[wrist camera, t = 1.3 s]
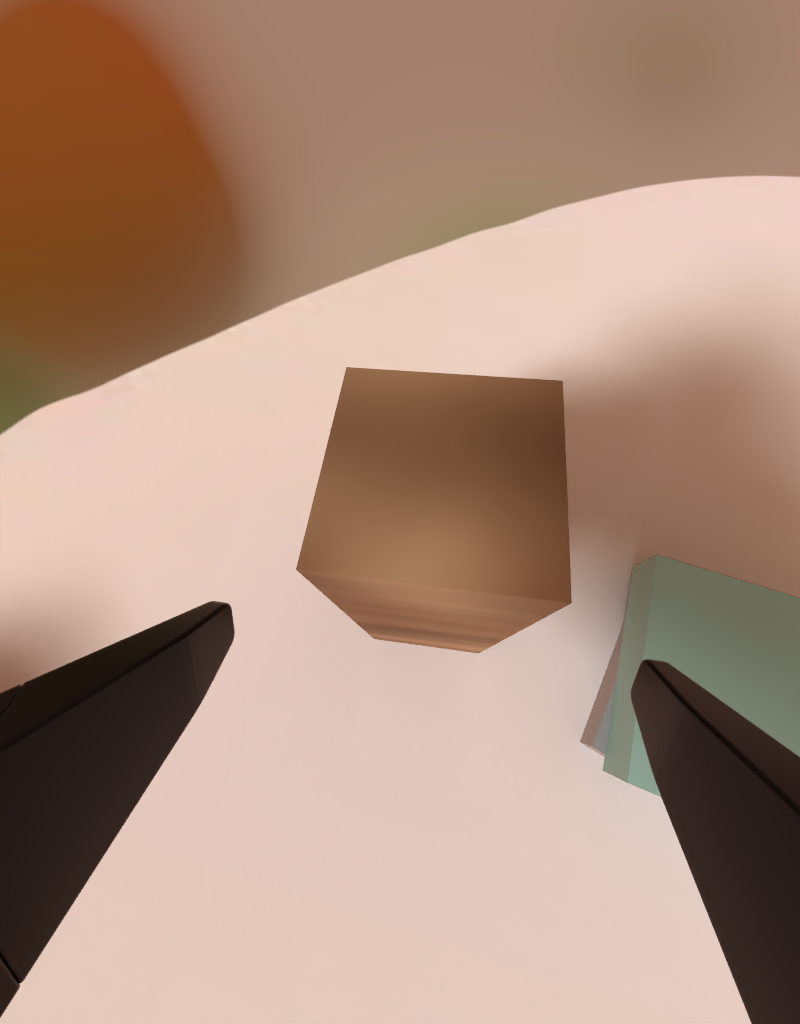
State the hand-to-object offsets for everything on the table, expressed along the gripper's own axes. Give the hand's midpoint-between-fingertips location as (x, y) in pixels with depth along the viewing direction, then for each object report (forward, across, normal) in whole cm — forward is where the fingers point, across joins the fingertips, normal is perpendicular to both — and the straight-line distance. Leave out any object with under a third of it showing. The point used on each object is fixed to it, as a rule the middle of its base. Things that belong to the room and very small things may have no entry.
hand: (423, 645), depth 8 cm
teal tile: (+7, -12, +6) cm, 16 cm away
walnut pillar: (+10, 0, +5) cm, 11 cm away
